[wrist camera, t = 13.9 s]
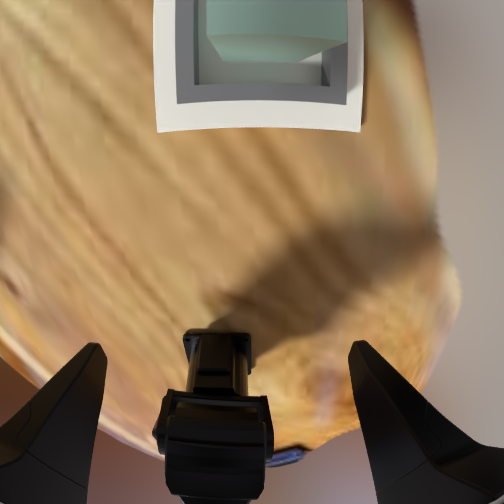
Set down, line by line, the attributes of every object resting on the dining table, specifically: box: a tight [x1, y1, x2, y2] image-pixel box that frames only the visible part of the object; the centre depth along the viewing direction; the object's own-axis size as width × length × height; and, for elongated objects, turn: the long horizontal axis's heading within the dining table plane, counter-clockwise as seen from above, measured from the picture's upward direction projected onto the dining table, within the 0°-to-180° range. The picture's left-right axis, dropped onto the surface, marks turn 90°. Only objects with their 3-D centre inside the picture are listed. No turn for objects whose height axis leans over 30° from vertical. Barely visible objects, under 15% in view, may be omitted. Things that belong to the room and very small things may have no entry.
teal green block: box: [207, 0, 347, 62], centre depth 10 cm, size 4×4×9 cm
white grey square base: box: [153, 0, 364, 133], centre depth 13 cm, size 13×13×3 cm
